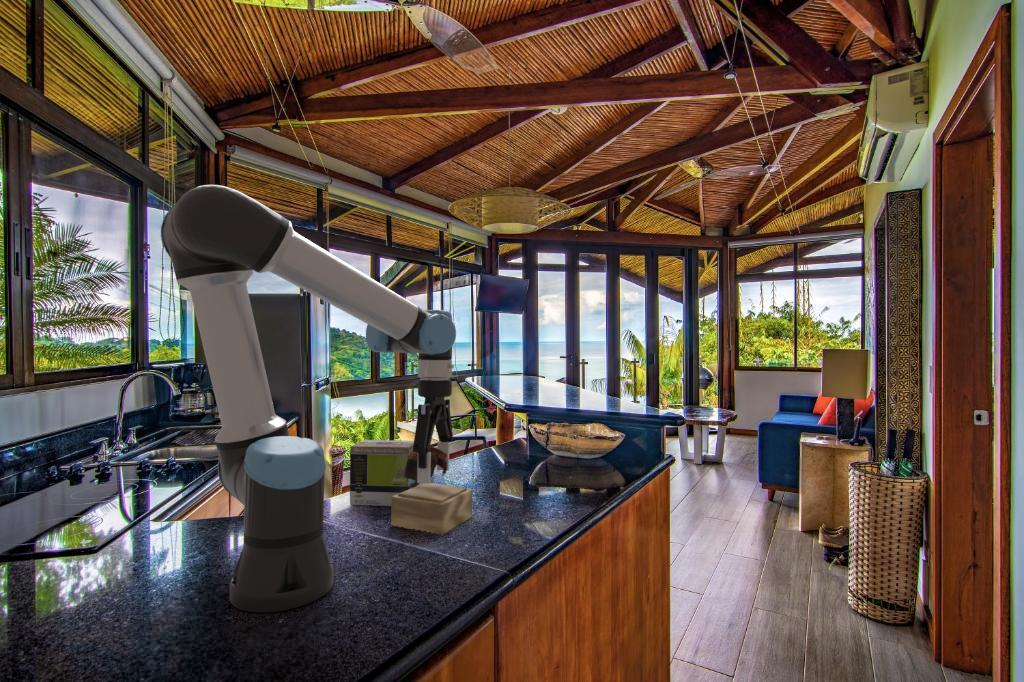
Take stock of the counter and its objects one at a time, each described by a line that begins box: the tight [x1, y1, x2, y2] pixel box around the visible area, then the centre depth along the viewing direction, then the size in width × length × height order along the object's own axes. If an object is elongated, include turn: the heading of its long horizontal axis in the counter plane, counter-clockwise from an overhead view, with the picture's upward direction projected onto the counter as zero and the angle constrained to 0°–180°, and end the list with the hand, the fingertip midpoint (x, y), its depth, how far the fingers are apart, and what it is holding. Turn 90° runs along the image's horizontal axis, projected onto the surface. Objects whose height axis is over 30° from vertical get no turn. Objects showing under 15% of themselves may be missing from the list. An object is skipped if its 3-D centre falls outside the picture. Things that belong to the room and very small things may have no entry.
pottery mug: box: [403, 445, 447, 481], centre depth 117 cm, size 12×10×8 cm
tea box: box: [349, 439, 420, 507], centre depth 131 cm, size 15×10×15 cm
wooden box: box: [390, 482, 474, 536], centre depth 117 cm, size 13×13×7 cm
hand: (433, 476), depth 117 cm, fingers closed on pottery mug, 11 cm apart
